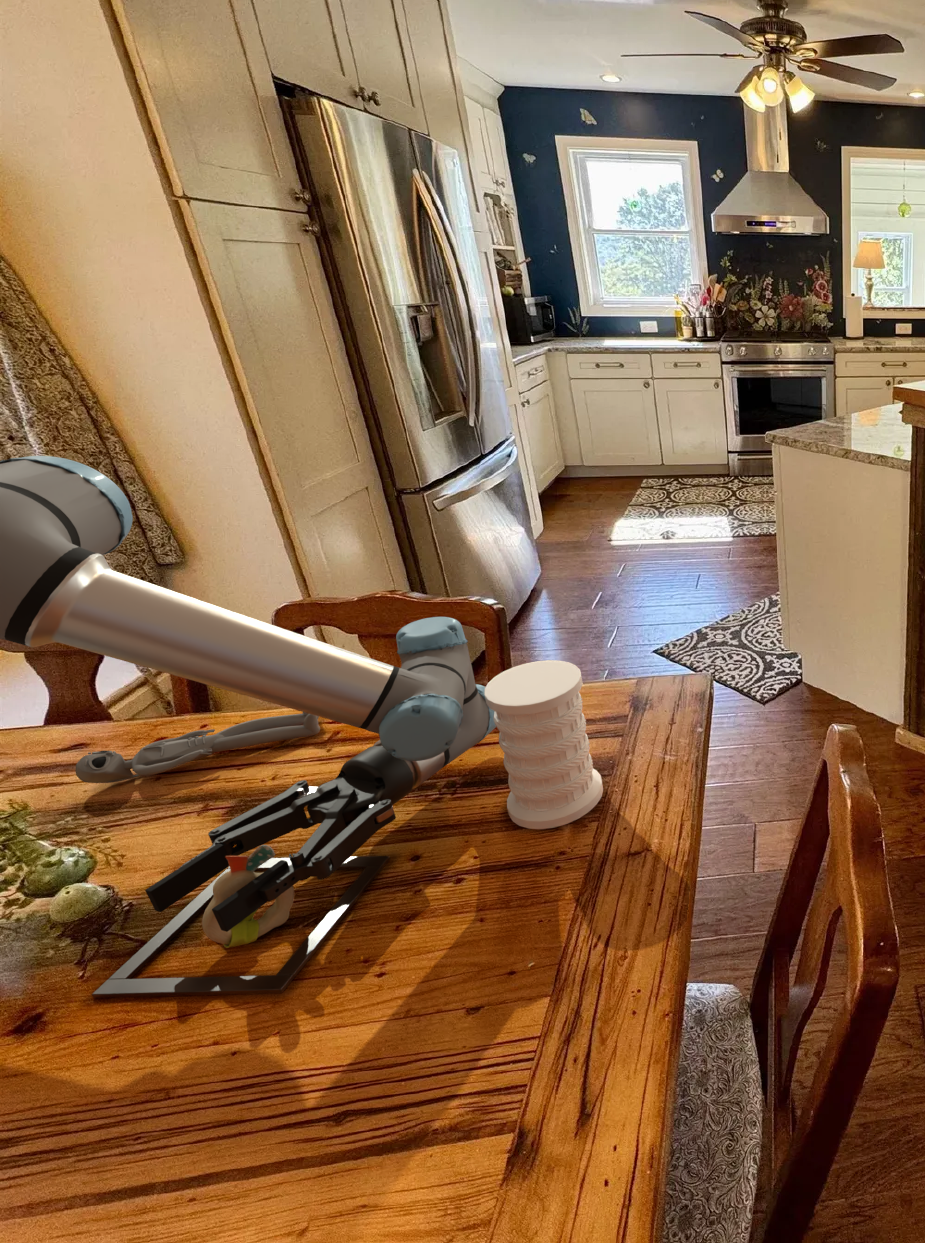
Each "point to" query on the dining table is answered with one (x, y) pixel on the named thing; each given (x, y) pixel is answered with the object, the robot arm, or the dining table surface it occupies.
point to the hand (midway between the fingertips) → (185, 910)
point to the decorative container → (544, 743)
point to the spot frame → (128, 987)
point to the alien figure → (193, 748)
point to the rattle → (249, 927)
